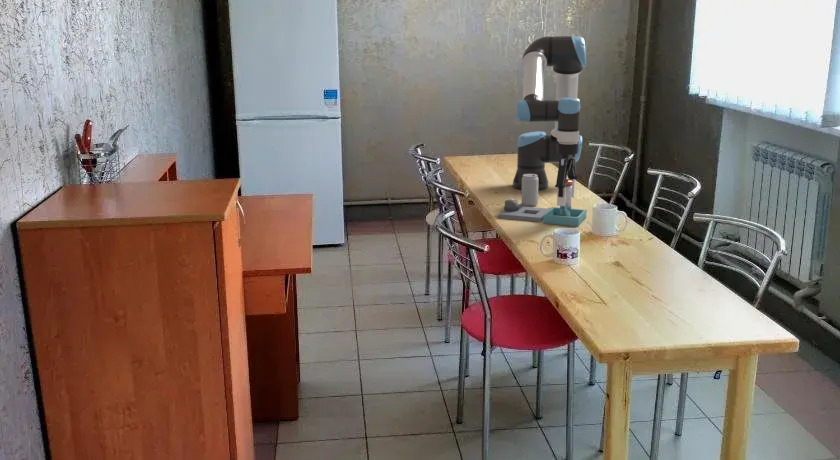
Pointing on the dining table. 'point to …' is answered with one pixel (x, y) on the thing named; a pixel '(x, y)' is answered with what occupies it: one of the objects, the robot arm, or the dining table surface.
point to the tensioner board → (522, 212)
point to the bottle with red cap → (567, 199)
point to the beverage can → (529, 190)
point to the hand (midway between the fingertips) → (565, 201)
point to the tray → (564, 217)
